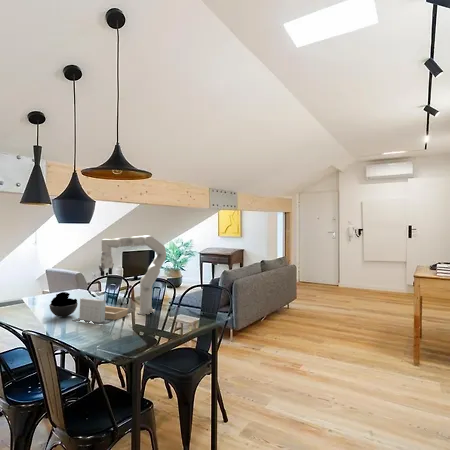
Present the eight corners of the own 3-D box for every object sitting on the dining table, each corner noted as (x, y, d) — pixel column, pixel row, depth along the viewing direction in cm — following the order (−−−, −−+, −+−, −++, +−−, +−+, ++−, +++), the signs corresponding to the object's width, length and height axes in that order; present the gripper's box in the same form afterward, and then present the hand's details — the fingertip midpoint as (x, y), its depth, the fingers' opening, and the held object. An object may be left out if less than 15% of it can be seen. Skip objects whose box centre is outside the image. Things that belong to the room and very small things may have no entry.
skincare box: (105, 321, 252) (106, 300, 252) (100, 323, 247) (100, 301, 247) (84, 317, 260) (84, 297, 260) (78, 319, 255) (79, 298, 255)
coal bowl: (71, 312, 278) (72, 289, 279) (81, 317, 264) (81, 293, 264) (45, 316, 264) (46, 292, 265) (54, 321, 250) (54, 296, 250)
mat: (111, 321, 253) (111, 320, 253) (101, 325, 243) (101, 324, 243) (83, 317, 263) (83, 316, 263) (72, 320, 253) (72, 320, 253)
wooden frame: (128, 314, 274) (129, 308, 274) (113, 320, 256) (114, 313, 257) (102, 311, 283) (102, 305, 283) (86, 316, 266) (86, 310, 266)
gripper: (103, 255, 263) (103, 276, 263) (116, 253, 280) (116, 273, 279) (95, 254, 265) (95, 276, 265) (109, 253, 282) (109, 273, 282)
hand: (106, 275), depth 272 cm, fingers open, 9 cm apart
